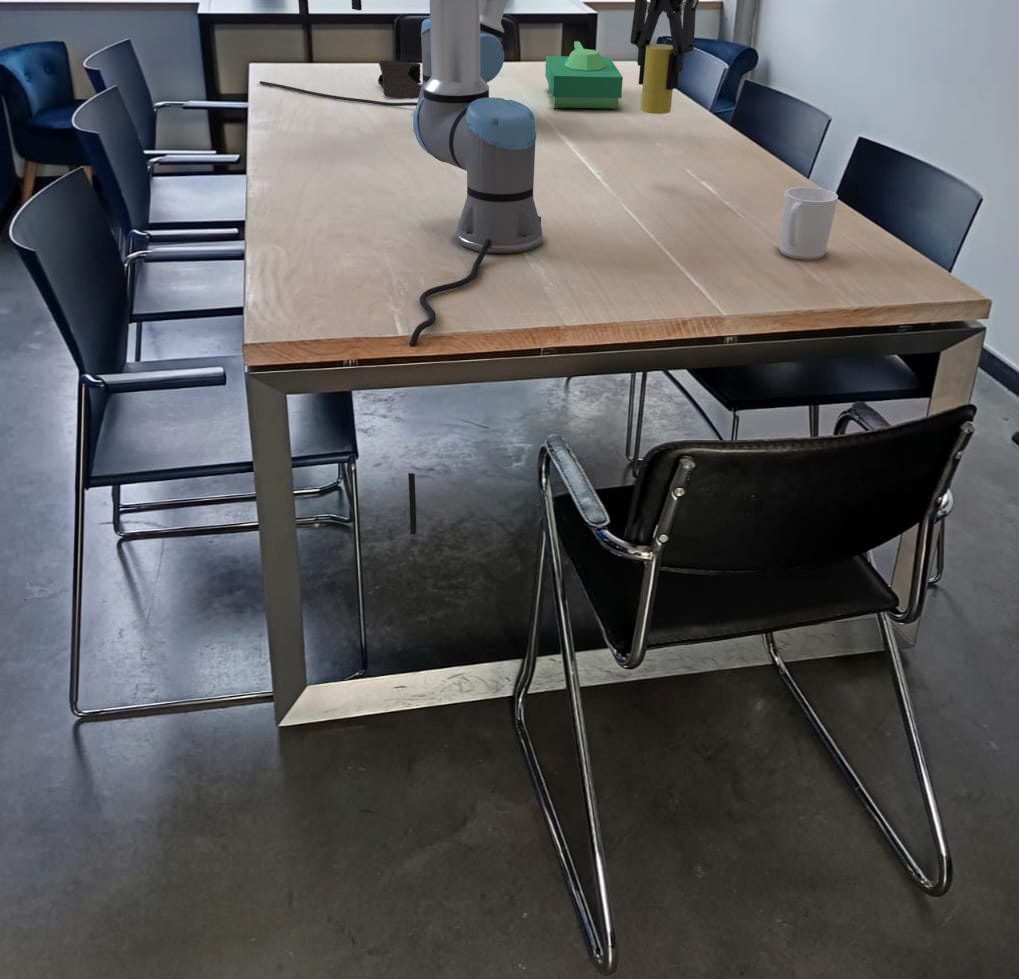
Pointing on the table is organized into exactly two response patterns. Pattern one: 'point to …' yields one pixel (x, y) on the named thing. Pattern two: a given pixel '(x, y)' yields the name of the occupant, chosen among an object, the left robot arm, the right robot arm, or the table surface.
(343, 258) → the table surface
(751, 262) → the table surface
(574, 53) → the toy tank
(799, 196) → the mug
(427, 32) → the left robot arm
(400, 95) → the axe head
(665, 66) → the canister
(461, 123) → the right robot arm
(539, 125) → the table surface
